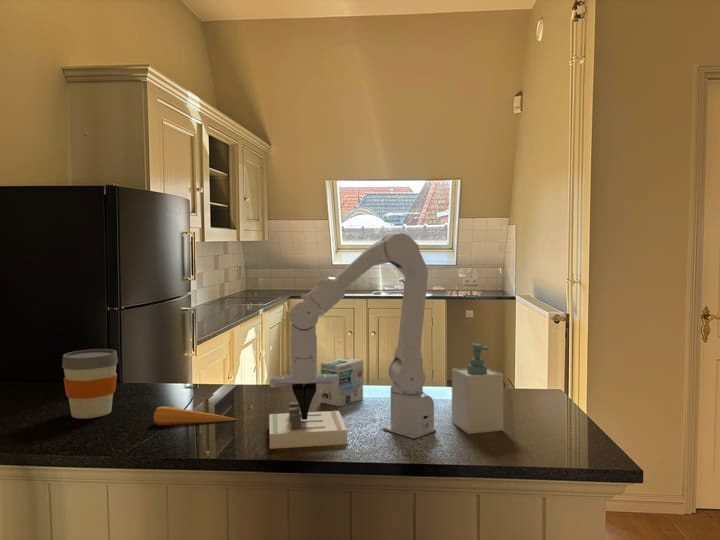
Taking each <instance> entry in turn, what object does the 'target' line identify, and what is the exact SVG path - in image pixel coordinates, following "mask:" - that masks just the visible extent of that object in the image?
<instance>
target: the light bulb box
mask: <svg viewBox="0 0 720 540" xmlns="http://www.w3.org/2000/svg"><path fill="white" fill-rule="evenodd" d="M320 374H336V375H337V381H338V385H332V384H326V385H320V403H321V402H322V404H325V403H326V404H325V405H329V404H330V406H334V405H335V407H338V406H340V407H342V406H345V405H349V404H351V402H352V403H354V401H355V402H358V401H360V399H361V400H363V399H364V360H363V359H357V358H351V357H347V356H346V357H344V356H343V357H341V358H337V359H333V360H328V361H324V362H320ZM357 400H358V401H357ZM348 403H349V404H348Z"/></svg>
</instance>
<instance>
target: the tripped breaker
mask: <svg viewBox="0 0 720 540" xmlns="http://www.w3.org/2000/svg"><path fill="white" fill-rule="evenodd" d="M288 409H289V410H288V411H289V420H290V422H291V414H293V413H300V407H294V408H288Z"/></svg>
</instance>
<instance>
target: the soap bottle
mask: <svg viewBox="0 0 720 540" xmlns="http://www.w3.org/2000/svg"><path fill="white" fill-rule="evenodd" d="M470 345H471V346H472V347H473V348H472V353H473V355H474V357H472V358H471V359H470V363H469V364H467V366H466V367H465V366H464V367H453V368H452V369H451V370H452V371H451V373H452V374H451V381H452V382H451V422H452V424H453V425H455V426H457V427H458V428H459V429H461V430H462V431H464V432H465V433H466V434H467V435H472V434H473V435H474V434H483V433H492V432H500V431H501V432H502V431H504V373H503V372H500V371H497V370H495V369H492V368H490V367H488V366H487V364H485V360H484V359H483V358H481V355H482V351H483V350H484V351H488V349H489V347H488V346H487V345H483V344H480V343H478V342H470Z"/></svg>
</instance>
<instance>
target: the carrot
mask: <svg viewBox="0 0 720 540" xmlns="http://www.w3.org/2000/svg"><path fill="white" fill-rule="evenodd" d="M152 420H154V424H155V425H157V426H171V425H173V426H175V425H189V424H190V425H191V424H206V423H220V422H234V420H236V421H240V419H238V418H234V417H229V416H226V415H225V416H224V415H220V414H215V413H208V412H201V411H197V410H192V409H191V410H189V409H185V408H177V407H174V406H173V407H172V406H165V405H164V406H159V407H157V408H156V409H155V411H153V415H152Z"/></svg>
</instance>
